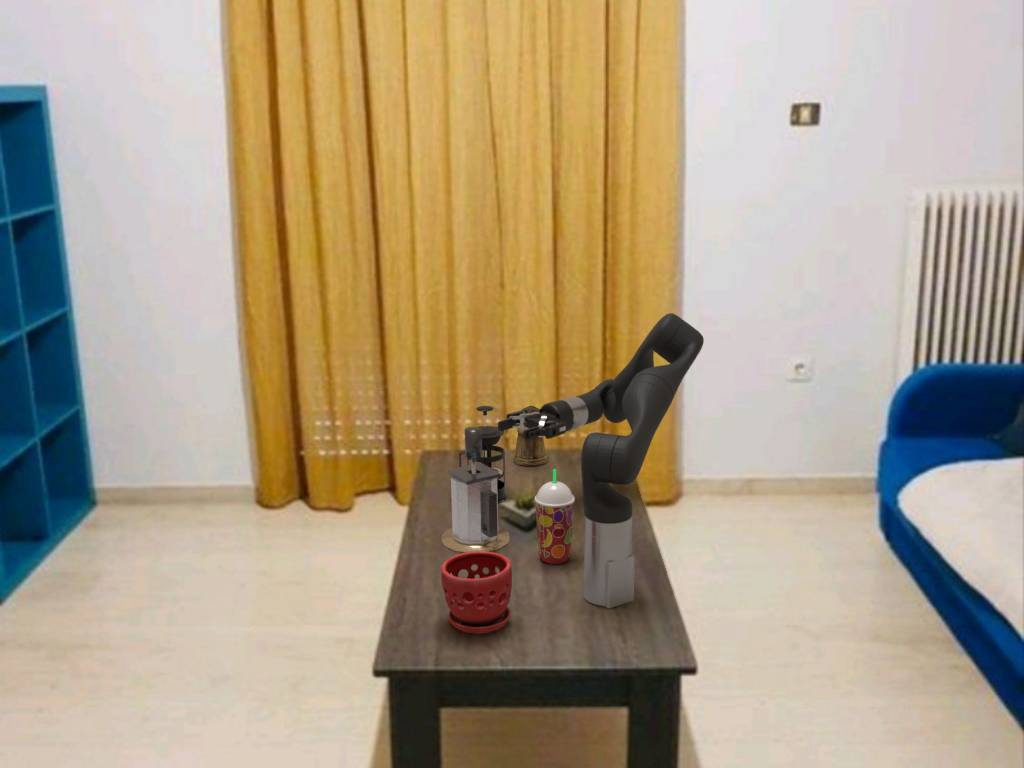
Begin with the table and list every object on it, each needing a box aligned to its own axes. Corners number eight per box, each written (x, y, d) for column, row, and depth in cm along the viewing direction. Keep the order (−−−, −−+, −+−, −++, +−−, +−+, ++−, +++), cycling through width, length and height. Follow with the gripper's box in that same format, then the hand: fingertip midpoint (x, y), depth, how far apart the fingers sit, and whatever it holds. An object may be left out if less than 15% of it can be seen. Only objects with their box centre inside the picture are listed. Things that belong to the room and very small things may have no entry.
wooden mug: (513, 473, 283) (512, 406, 278) (513, 455, 296) (512, 391, 291) (548, 472, 283) (547, 405, 278) (546, 455, 296) (546, 390, 291)
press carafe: (523, 543, 241) (522, 475, 236) (463, 559, 233) (461, 490, 229) (487, 520, 253) (486, 455, 249) (429, 535, 246) (427, 468, 242)
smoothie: (547, 547, 239) (546, 460, 233) (581, 555, 235) (581, 467, 229) (527, 561, 232) (526, 472, 226) (562, 570, 228) (562, 479, 222)
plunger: (499, 528, 241) (497, 430, 235) (468, 536, 238) (466, 437, 231) (481, 517, 248) (479, 421, 241) (451, 524, 244) (448, 427, 238)
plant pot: (507, 603, 214) (506, 546, 211) (517, 636, 201) (516, 576, 198) (440, 608, 212) (438, 551, 209) (445, 642, 200) (443, 582, 196)
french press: (510, 490, 271) (508, 401, 265) (507, 505, 262) (506, 413, 256) (462, 490, 272) (460, 401, 265) (458, 504, 263) (455, 412, 256)
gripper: (542, 393, 259) (490, 408, 248) (585, 406, 248) (532, 422, 238) (542, 424, 261) (490, 439, 250) (585, 438, 250) (533, 454, 240)
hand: (511, 431), depth 244 cm, fingers open, 8 cm apart
